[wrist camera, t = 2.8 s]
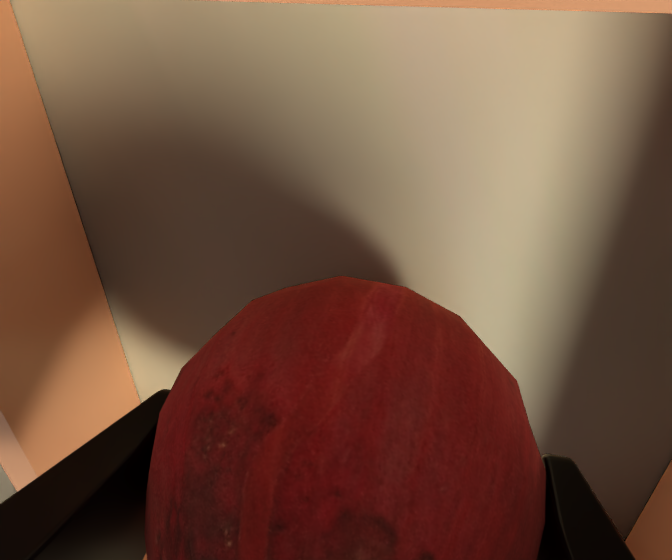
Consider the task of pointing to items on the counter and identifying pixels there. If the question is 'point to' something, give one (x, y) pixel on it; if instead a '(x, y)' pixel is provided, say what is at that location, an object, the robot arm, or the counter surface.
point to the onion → (344, 437)
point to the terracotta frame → (88, 295)
